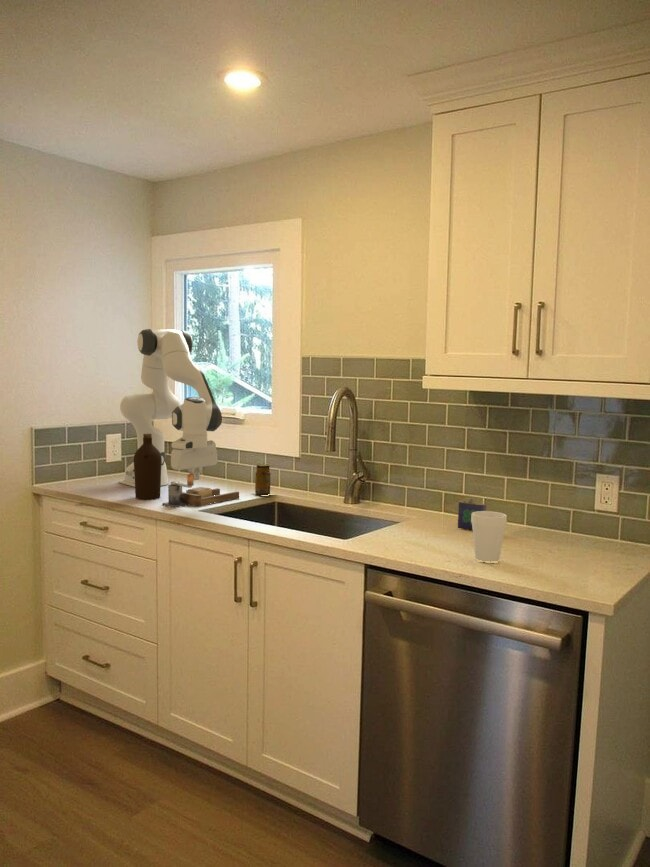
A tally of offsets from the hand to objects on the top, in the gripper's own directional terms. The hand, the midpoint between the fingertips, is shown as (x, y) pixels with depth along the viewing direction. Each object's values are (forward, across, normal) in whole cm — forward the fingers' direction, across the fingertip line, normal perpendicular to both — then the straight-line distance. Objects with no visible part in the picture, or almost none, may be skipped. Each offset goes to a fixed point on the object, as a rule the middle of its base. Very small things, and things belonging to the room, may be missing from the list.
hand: (195, 479), depth 265 cm
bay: (+10, -14, -6) cm, 18 cm away
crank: (+3, +2, -4) cm, 5 cm away
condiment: (+10, -36, +2) cm, 38 cm away
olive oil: (+10, -1, -27) cm, 29 cm away
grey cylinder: (+10, +2, -8) cm, 13 cm away
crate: (+10, -8, -6) cm, 15 cm away
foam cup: (+11, -1, +114) cm, 114 cm away
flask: (+11, -33, +94) cm, 100 cm away
